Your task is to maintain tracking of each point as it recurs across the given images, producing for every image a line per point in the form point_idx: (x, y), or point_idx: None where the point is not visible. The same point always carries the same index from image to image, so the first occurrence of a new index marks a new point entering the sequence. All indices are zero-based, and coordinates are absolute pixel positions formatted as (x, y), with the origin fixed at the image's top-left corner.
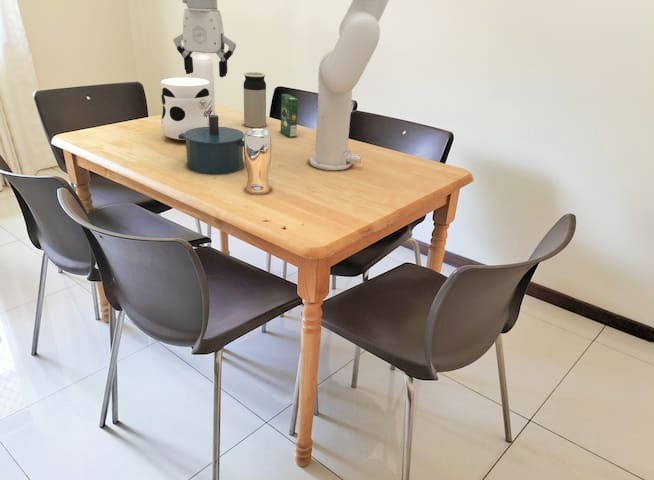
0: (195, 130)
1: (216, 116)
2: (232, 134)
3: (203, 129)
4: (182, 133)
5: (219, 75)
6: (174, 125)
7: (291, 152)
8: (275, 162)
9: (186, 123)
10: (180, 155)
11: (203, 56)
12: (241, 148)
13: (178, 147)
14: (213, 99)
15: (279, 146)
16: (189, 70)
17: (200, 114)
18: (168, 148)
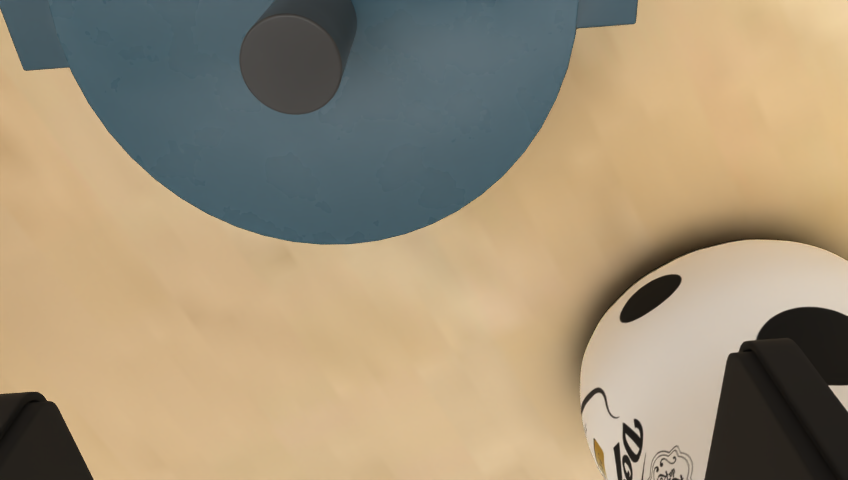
0: (515, 46)
1: (250, 64)
2: (181, 86)
3: (470, 108)
4: (630, 17)
5: (37, 410)
6: (805, 281)
7: (107, 361)
8: (68, 186)
9: (724, 312)
10: (645, 49)
11: None
12: None
13: (717, 181)
14: None
15: (216, 413)
16: (747, 426)
17: (658, 413)
18: (770, 138)
